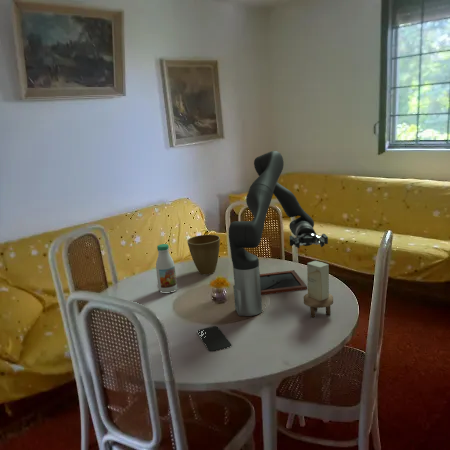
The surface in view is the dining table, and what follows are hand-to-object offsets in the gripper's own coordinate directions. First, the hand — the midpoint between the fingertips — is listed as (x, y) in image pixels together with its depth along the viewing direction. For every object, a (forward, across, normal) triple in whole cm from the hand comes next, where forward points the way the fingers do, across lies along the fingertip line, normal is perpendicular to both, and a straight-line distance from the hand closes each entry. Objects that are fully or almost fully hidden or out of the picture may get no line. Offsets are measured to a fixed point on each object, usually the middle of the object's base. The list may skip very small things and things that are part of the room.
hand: (310, 244), depth 162 cm
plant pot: (-36, -44, +21) cm, 60 cm away
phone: (+28, -35, +22) cm, 50 cm away
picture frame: (-17, -15, +21) cm, 31 cm away
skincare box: (+13, +1, +15) cm, 20 cm away
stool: (+13, +1, +21) cm, 25 cm away
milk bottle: (-15, -58, +21) cm, 64 cm away
